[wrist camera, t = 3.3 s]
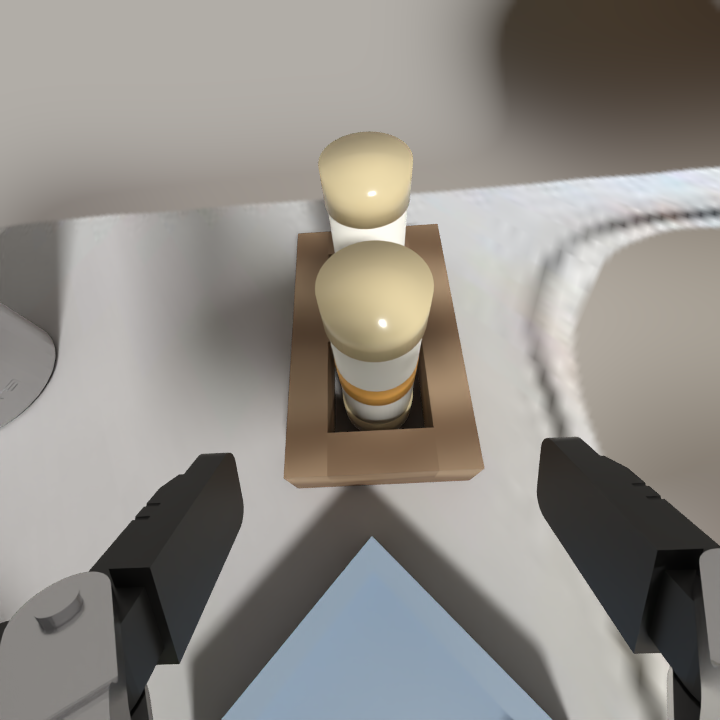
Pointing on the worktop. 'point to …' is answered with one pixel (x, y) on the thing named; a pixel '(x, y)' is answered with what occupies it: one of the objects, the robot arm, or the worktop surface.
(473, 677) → the tray
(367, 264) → the cylinder
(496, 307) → the worktop surface
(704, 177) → the worktop surface
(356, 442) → the fuse holder
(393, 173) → the cylinder
